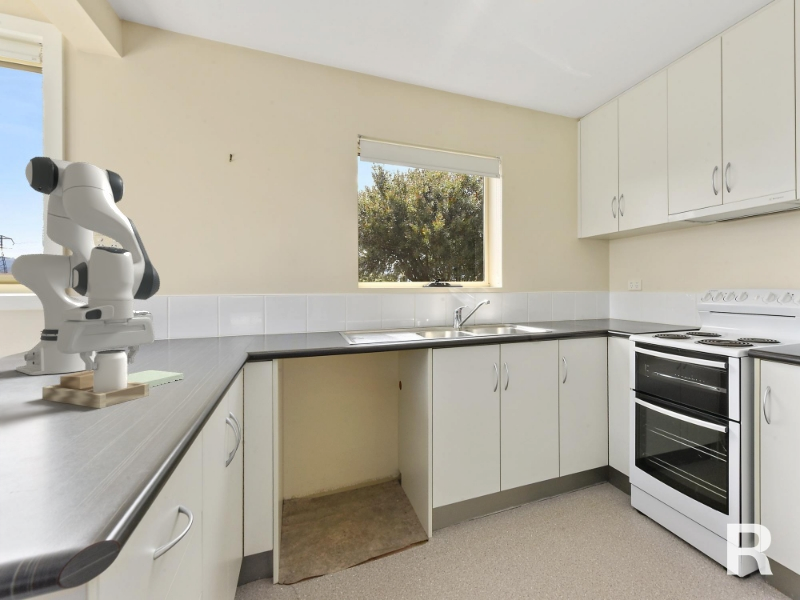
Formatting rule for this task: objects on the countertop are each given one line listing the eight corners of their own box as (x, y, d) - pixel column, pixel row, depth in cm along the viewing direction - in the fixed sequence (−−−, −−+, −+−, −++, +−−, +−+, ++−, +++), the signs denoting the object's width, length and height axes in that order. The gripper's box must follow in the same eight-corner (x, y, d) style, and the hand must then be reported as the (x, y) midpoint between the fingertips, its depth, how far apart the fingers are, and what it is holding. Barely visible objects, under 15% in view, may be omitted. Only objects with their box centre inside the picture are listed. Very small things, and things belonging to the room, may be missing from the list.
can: (107, 404, 83) (108, 353, 82) (86, 401, 84) (86, 352, 84) (133, 396, 89) (134, 350, 89) (113, 394, 90) (113, 348, 90)
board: (102, 385, 99) (102, 379, 99) (150, 375, 112) (150, 369, 112) (137, 390, 94) (137, 383, 94) (183, 379, 108) (183, 373, 108)
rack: (42, 399, 85) (42, 387, 85) (94, 387, 96) (94, 377, 96) (100, 408, 79) (100, 395, 79) (149, 395, 90) (149, 383, 90)
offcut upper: (60, 388, 86) (60, 376, 86) (87, 381, 93) (87, 370, 92) (79, 389, 85) (79, 377, 85) (105, 382, 92) (105, 371, 92)
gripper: (144, 310, 97) (143, 359, 97) (52, 312, 78) (52, 374, 78) (160, 310, 95) (160, 360, 95) (71, 313, 76) (70, 376, 76)
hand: (110, 366), depth 86 cm, fingers open, 7 cm apart
